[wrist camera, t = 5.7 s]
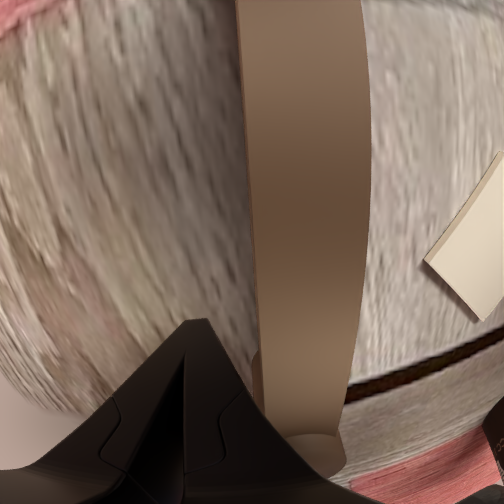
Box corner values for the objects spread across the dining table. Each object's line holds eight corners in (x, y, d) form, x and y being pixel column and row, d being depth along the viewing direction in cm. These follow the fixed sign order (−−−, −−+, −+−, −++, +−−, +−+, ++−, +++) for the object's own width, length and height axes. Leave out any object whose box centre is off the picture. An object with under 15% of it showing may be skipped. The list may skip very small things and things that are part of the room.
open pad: (540, 231, 10) (545, 233, 10) (478, 317, 12) (482, 322, 12) (499, 150, 9) (505, 152, 9) (423, 259, 11) (428, 263, 10)
